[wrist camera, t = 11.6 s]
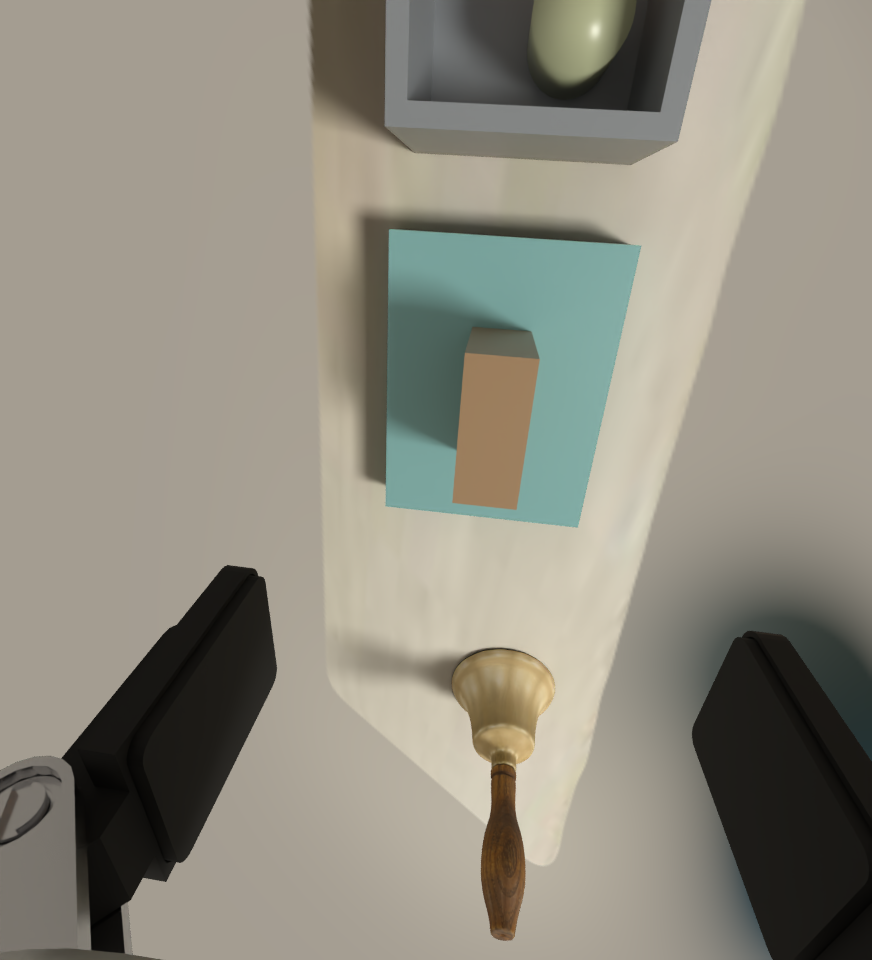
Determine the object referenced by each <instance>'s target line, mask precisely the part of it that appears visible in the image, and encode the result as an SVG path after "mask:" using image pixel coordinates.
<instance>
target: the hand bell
mask: <svg viewBox="0 0 872 960" xmlns="http://www.w3.org/2000/svg"><path fill="white" fill-rule="evenodd" d="M452 690H453V693H454V695H455V697H456V699H457V701H458V703H459V704H460V705H461V707H462V708H463V709H464V710H465V711H467V712H468V714H469V717H470V721H471V727H472V738H473V745H474V748H475V750H476V752H477V753H478V754H479V755H480V756H481V757H482V758H483V759H485V760H487V761H489V762H491V763H492V770H491V779H492V780H491V801H492V803H491V813H490V818H489V821H488V824H487V828H486V831H485V835H484V840H483V848H482V856H481V881H482V889H483V895H484V900H485V904H486V908H487V912H488V916H489V921H490V929H491V930H490V931H491V935H492V936H493V937H494V938H496V939H498V940H503V941H507V940H512V939H513V938H514V937H515V930H516V924H517V919H518V915H519V911H520V907H521V903H522V899H523V894H524V888H525V856H524V847H523V841H522V837H521V833H520V829H519V826H518V822H517V818H516V811H515V791H516V783H515V780H516V772H515V771H516V764H518V763H521V762H523V761H525V760H526V759H528V758H529V757H530V755H531V754H532V752H533V750H534V746H535V730H536V724H537V720H538V717H539V715H541V714H542V713H543V712H544V711H545V710H546V709H547V708H548V706H549V705H550V703H551V701H552V699H553V697H554V693H555V684H554V679H553V677H552V675H551V673H550V672H549V670H548V669H547V668H546V667H545V666H544V665H543V664H542V663H541V662H540V661H538V660H537V659H535V658H533V657H531V656H529V655H527V654H525V653H521V652H518V651H512V650H505V649H495V650H487V651H482V652H479V653H477V654H474V655H472V656H470V657H468V658H466V659H465V660H464V661H463V662H461V663H460V664H459V665H458V667H457V668H456V670H455V672H454V674H453V677H452Z"/></svg>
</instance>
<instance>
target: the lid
mask: <svg viewBox="0 0 872 960" xmlns="http://www.w3.org/2000/svg"><path fill="white" fill-rule="evenodd" d="M640 249H641V246H639V245H631V244H617V243H602V242H587V241H571V240H556V239H541V238H526V237H511V236H495V235H480V234H465V233H450V232H434V231H419V230H404V229H389V269H388V353H387V436H386V506H388V507H397V508H406V509H415V510H424V511H433V512H442V513H451V514H460V515H469V516H478V517H487V518H496V519H505V520H514V521H523V522H532V523H542V524H551V525H560V526H569V527H578V524H579V520H580V516H581V511H582V507H583V502H584V498H585V493H586V489H587V484H588V480H589V476H590V471H591V467H592V462H593V458H594V453H595V449H596V444H597V440H598V436H599V431H600V427H601V422H602V418H603V413H604V409H605V404H606V400H607V396H608V391H609V387H610V382H611V378H612V373H613V369H614V365H615V360H616V356H617V351H618V347H619V342H620V338H621V333H622V329H623V325H624V320H625V316H626V311H627V307H628V302H629V298H630V293H631V289H632V285H633V280H634V276H635V271H636V267H637V262H638V258H639V253H640Z"/></svg>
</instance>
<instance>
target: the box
mask: <svg viewBox="0 0 872 960" xmlns="http://www.w3.org/2000/svg"><path fill="white" fill-rule="evenodd" d="M710 4H711V0H386V41H385V127H386V128H387V129H388V130H389V131H390V132H392V133H393V134H394V135H395V136H396V137H397V138H398V139H400V140H401V141H402V142H403V143H404V144H405V145H406V146H407V147H409V148H410V149H411V150H412V151H413V152H414V153H428V154H445V155H463V156H481V157H499V158H517V159H535V160H553V161H570V162H588V163H606V164H624V165H632V164H634V163H636V162H638V161H640V160H642V159H644V158H646V157H648V156H650V155H652V154H654V153H656V152H658V151H660V150H662V149H664V148H666V147H668V146H670V145H672V144H674V143H676V142H678V139H679V134H680V130H681V126H682V122H683V117H684V113H685V109H686V105H687V101H688V96H689V92H690V88H691V84H692V80H693V75H694V71H695V67H696V63H697V58H698V54H699V50H700V46H701V42H702V37H703V33H704V29H705V25H706V21H707V16H708V12H709V8H710Z"/></svg>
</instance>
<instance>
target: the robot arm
mask: <svg viewBox="0 0 872 960" xmlns="http://www.w3.org/2000/svg"><path fill="white" fill-rule="evenodd" d="M276 672H277V665H276V658H275V650H274V643H273V635H272V628H271V621H270V613H269V606H268V598H267V591H266V583H265V579H264V578H263V577H259V576H258V573H257V571H256V570H255V569H253V568H246V567H238V566H230V565H227V566H225V567H224V568H222V569H221V571H220V572H219V573H218V575H217V576H216V577H215V578H214V580H213V581H212V582H211V583H210V584H209V586H208V587H207V588H206V589H205V591H204V592H203V593H202V594H201V595H200V597H199V598H198V599H197V600H196V602H195V603H194V604H193V605H192V607H191V608H190V609H189V610H188V612H187V613H186V614H185V615H184V617H183V618H182V619H181V620H180V622H179V623H178V624H177V625H175V626H173V627H171V628H169V629H168V630H167V631H166V632H165V633H164V634H163V635H162V637H161V638H160V639H159V640H158V641H157V643H156V644H155V645H154V646H153V647H152V649H151V650H150V651H149V652H148V653H147V655H146V656H145V657H144V658H143V660H142V661H141V662H140V663H139V665H138V666H137V667H136V668H135V669H134V671H133V672H132V673H131V674H130V675H129V677H128V678H127V679H126V680H125V681H124V683H123V684H122V685H121V687H120V688H119V689H118V690H117V691H116V693H115V694H114V695H113V696H112V697H111V699H110V700H109V701H108V702H107V704H106V705H105V706H104V707H103V708H102V710H101V711H100V712H99V713H98V714H97V716H96V717H95V718H94V719H93V721H92V722H91V723H90V724H89V725H88V727H87V728H86V729H85V730H84V732H83V733H82V734H81V735H80V736H79V738H78V739H77V740H76V741H75V742H74V744H73V745H72V746H71V747H70V749H69V750H68V751H67V752H66V753H65V755H64V756H63V757H62V758H61V759H60V758H56V757H52V756H39V757H32V758H29V759H25V760H22V761H19V762H15V763H14V764H12V765H10V766H8V767H6V768H4V769H2V770H0V960H160V959H154V958H148V957H142V956H136V955H133V953H132V942H131V931H130V922H129V910H128V901H130V900H131V898H132V896H133V895H134V893H135V891H136V889H137V887H138V886H139V884H140V882H141V880H142V878H148V879H153V880H159V881H165V882H166V881H167V879H168V877H169V875H170V873H171V871H172V869H173V867H174V865H175V863H176V862H179V863H181V862H183V861H184V860H185V859H186V858H187V857H188V855H189V854H190V852H191V850H192V848H193V846H194V844H195V842H196V840H197V838H198V836H199V834H200V832H201V830H202V828H203V826H204V824H205V822H206V820H207V818H208V816H209V814H210V812H211V810H212V808H213V806H214V804H215V802H216V800H217V798H218V796H219V794H220V792H221V790H222V787H223V785H224V784H225V781H226V779H227V777H228V775H229V773H230V771H231V769H232V767H233V765H234V763H235V761H236V759H237V757H238V755H239V753H240V751H241V749H242V747H243V745H244V743H245V741H246V739H247V737H248V735H249V733H250V731H251V729H252V727H253V725H254V723H255V721H256V719H257V717H258V715H259V712H260V711H261V708H262V707H263V704H264V702H265V700H266V698H267V696H268V694H269V692H270V690H271V688H272V686H273V684H274V681H275V678H276ZM692 738H693V745H694V748H695V751H696V753H697V756H698V759H699V762H700V764H701V767H702V770H703V773H704V775H705V778H706V781H707V783H708V786H709V789H710V792H711V794H712V797H713V800H714V803H715V806H716V808H717V811H718V814H719V816H720V819H721V822H722V825H723V827H724V830H725V833H726V836H727V839H728V841H729V844H730V847H731V849H732V852H733V855H734V857H735V860H736V863H737V866H738V869H739V871H740V874H741V877H742V880H743V882H744V885H745V888H746V891H747V893H748V896H749V899H750V902H751V904H752V907H753V910H754V913H755V915H756V918H757V921H758V924H759V926H760V929H761V932H762V934H763V937H764V940H765V942H766V945H767V948H768V951H769V953H770V955H771V957H772V959H773V960H872V761H871V760H870V759H869V757H868V755H867V754H866V753H865V751H864V750H863V748H862V747H861V745H860V744H859V742H858V741H857V739H856V738H855V736H854V735H853V733H852V732H851V731H850V729H849V728H848V726H847V725H846V723H845V722H844V720H843V719H842V718H841V716H840V715H839V713H838V712H837V710H836V709H835V707H834V706H833V704H832V703H831V701H830V700H829V698H828V697H827V695H826V694H825V692H824V691H823V690H822V688H821V687H820V685H819V684H818V682H817V681H816V679H815V678H814V676H813V675H812V673H811V672H810V670H809V669H808V668H807V666H806V665H805V663H804V662H803V660H802V659H801V658H800V656H799V655H798V653H797V652H796V650H795V649H794V647H793V646H792V644H791V643H790V641H789V640H788V639H787V638H786V637H784V636H783V635H780V634H771V633H764V632H756V631H747V632H746V633H745V634H744V635H743V636H742V638H741V637H737V638H736V639H735V640H734V641H733V643H732V645H731V647H730V649H729V651H728V653H727V655H726V658H725V660H724V662H723V664H722V666H721V668H720V670H719V672H718V675H717V677H716V679H715V681H714V683H713V685H712V687H711V690H710V691H709V694H708V696H707V698H706V700H705V702H704V704H703V706H702V708H701V711H700V713H699V715H698V717H697V719H696V721H695V723H694V726H693V730H692Z"/></svg>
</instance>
